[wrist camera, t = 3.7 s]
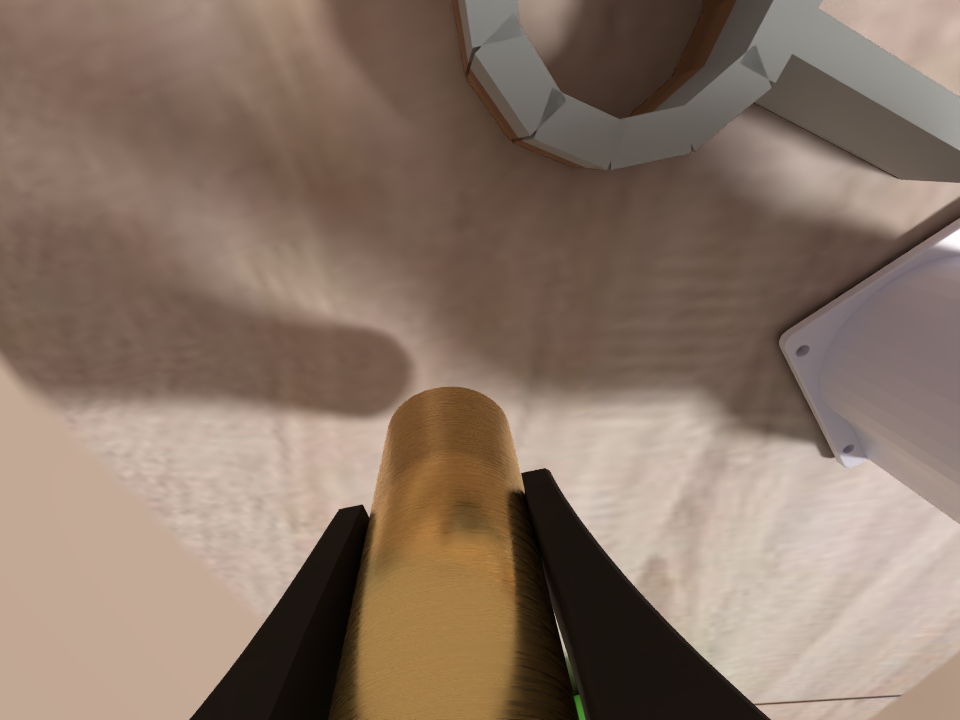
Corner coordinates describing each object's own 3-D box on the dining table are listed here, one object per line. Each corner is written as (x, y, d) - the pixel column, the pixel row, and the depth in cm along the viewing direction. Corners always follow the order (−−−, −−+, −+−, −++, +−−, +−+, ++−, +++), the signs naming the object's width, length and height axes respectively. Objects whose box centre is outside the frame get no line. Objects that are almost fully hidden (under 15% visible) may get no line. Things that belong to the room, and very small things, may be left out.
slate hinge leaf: (922, 164, 13) (1050, 167, 10) (657, 350, 15) (703, 391, 12) (782, -515, 7) (1000, -943, 4) (390, -30, 9) (369, -103, 7)
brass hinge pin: (534, 439, 13) (678, 897, 5) (446, 499, 14) (448, 961, 6) (452, 362, 11) (474, 866, 3) (360, 438, 12) (207, 960, 4)
